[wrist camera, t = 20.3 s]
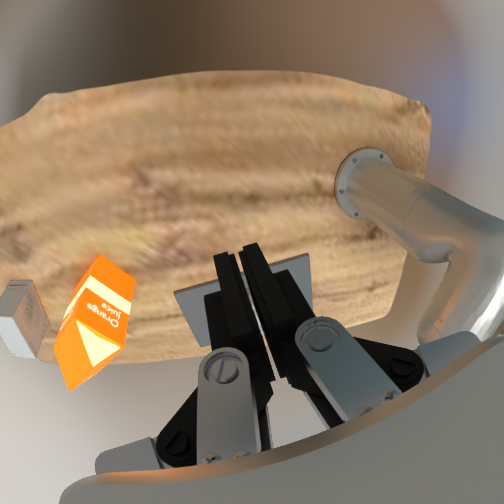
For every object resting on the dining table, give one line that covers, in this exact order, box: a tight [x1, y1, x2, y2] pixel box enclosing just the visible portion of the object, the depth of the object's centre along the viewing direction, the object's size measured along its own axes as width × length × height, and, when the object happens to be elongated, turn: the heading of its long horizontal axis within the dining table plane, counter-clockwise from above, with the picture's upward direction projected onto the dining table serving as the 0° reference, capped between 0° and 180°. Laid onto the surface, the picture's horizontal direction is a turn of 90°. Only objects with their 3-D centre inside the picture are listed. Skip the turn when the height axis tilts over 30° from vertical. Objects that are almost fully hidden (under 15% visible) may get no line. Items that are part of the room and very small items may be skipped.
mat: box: [174, 253, 313, 347], centre depth 50 cm, size 24×15×1 cm, turn 101°
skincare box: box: [0, 280, 49, 359], centre depth 35 cm, size 10×6×10 cm, turn 175°
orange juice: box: [53, 254, 135, 392], centre depth 33 cm, size 8×9×20 cm
